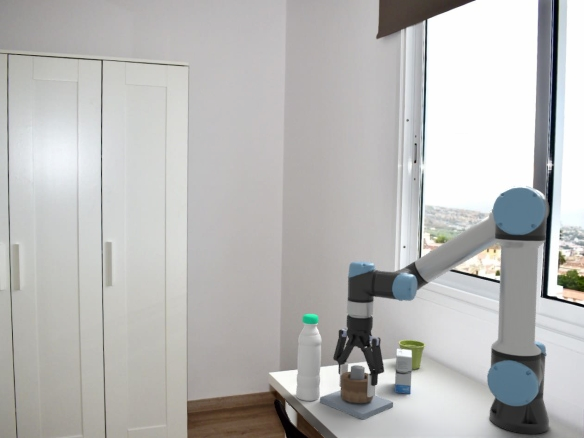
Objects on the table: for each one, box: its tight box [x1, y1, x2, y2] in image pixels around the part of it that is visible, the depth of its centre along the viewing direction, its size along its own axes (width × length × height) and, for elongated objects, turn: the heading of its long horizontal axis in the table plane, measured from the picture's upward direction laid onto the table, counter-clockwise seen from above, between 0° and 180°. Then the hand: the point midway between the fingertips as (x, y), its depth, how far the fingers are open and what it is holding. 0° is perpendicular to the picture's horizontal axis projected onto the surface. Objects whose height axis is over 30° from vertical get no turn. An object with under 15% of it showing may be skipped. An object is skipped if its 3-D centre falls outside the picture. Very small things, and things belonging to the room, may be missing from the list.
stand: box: [319, 364, 394, 420], centre depth 160 cm, size 16×14×11 cm
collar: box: [340, 371, 373, 403], centre depth 161 cm, size 9×9×6 cm
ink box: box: [394, 348, 413, 395], centre depth 175 cm, size 8×5×12 cm, turn 168°
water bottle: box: [295, 313, 322, 402], centre depth 165 cm, size 7×7×25 cm
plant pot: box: [398, 339, 426, 370], centre depth 198 cm, size 9×9×9 cm
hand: (356, 390), depth 161 cm, fingers open, 10 cm apart
